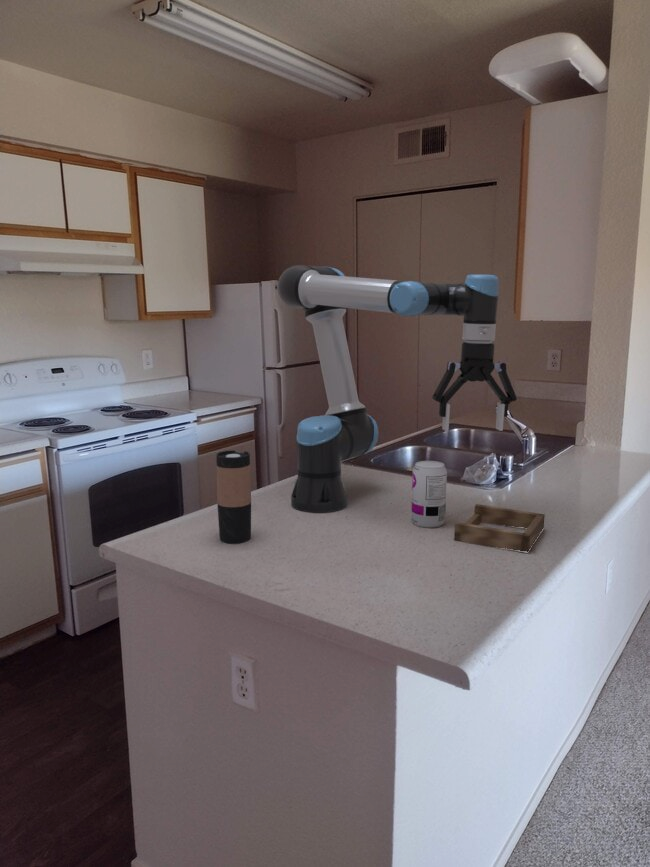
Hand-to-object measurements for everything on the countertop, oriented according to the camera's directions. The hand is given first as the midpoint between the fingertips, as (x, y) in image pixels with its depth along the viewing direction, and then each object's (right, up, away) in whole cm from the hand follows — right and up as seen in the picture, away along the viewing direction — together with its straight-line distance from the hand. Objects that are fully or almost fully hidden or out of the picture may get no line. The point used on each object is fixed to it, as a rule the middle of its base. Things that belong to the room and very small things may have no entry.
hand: (472, 430), depth 157 cm
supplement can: (-10, -23, +3) cm, 25 cm away
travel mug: (-57, -25, -8) cm, 62 cm away
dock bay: (+5, -25, -6) cm, 26 cm away
